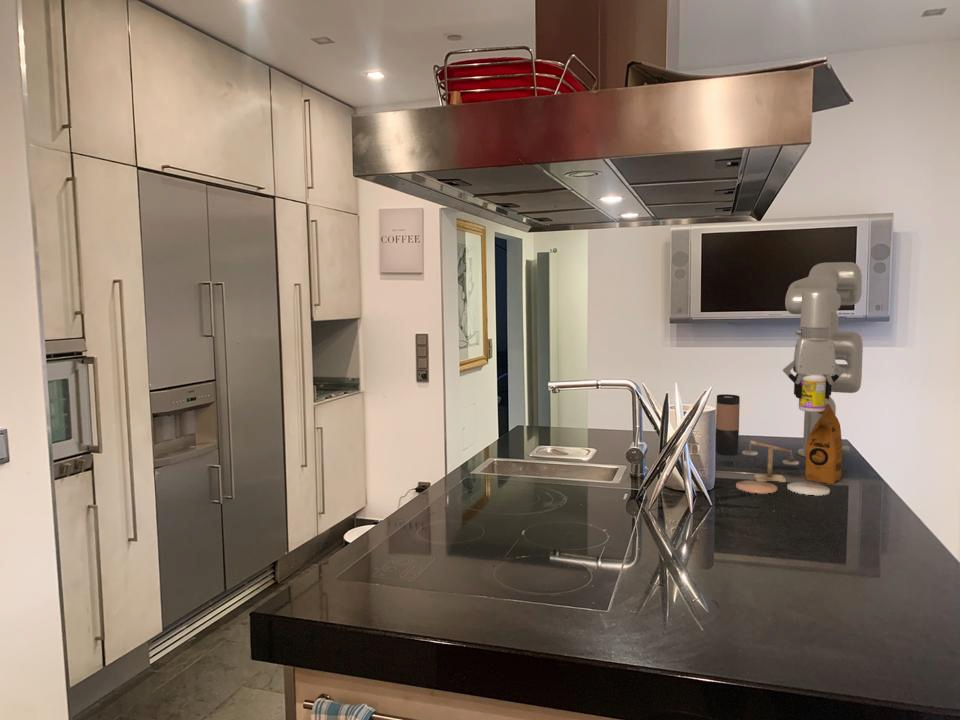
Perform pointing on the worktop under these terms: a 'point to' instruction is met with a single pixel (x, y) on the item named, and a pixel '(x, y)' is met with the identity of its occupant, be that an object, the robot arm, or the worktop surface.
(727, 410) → the travel mug
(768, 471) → the balance
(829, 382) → the robot arm
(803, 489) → the plate offwhite
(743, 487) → the plate terracotta
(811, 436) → the coffee package
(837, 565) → the worktop surface
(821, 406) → the supplement bottle
